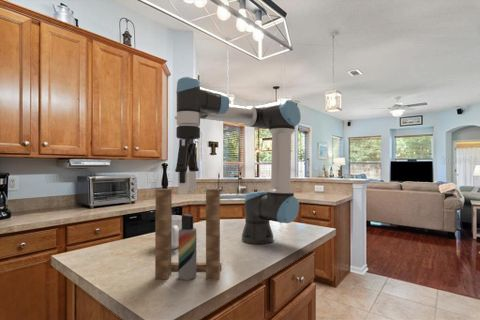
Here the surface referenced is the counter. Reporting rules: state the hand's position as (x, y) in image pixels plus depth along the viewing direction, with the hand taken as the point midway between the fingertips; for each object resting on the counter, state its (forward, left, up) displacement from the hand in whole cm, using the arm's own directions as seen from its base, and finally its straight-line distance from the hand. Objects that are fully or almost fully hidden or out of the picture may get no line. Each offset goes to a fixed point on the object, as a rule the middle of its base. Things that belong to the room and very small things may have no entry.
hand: (187, 192), depth 86 cm
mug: (+14, -30, -27) cm, 43 cm away
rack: (0, -3, -27) cm, 27 cm away
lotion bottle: (0, 0, -27) cm, 27 cm away
